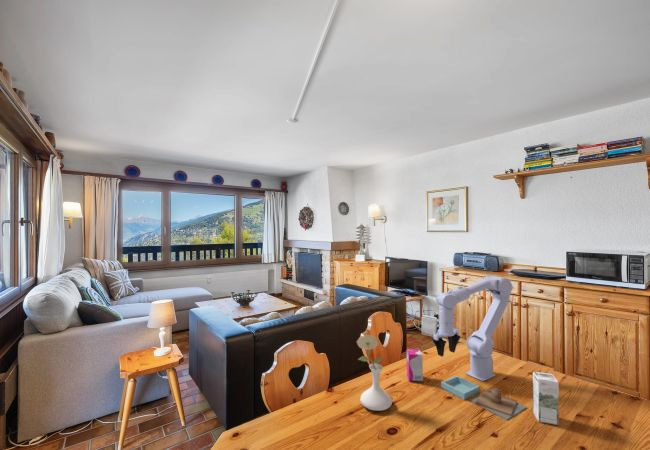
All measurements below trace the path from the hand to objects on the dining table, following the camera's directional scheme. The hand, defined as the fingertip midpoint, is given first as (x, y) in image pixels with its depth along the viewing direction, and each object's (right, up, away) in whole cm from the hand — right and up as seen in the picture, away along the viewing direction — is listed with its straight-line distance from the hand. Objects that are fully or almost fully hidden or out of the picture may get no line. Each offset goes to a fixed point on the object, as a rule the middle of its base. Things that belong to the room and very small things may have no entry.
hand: (446, 353), depth 128 cm
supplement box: (-14, -11, 0) cm, 17 cm away
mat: (+11, -10, -19) cm, 24 cm away
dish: (+2, -10, -10) cm, 14 cm away
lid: (+11, -10, -19) cm, 24 cm away
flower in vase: (-34, -11, -19) cm, 40 cm away
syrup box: (+22, -10, -28) cm, 37 cm away
